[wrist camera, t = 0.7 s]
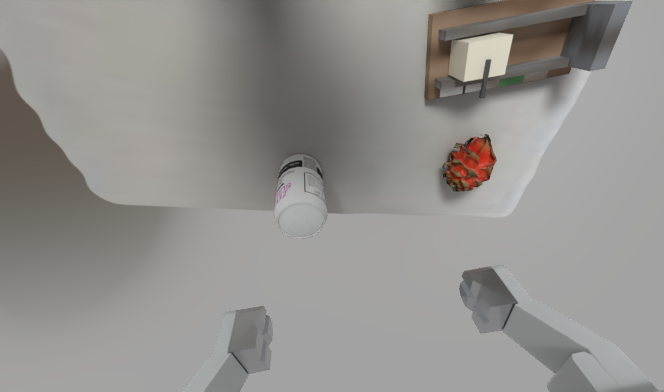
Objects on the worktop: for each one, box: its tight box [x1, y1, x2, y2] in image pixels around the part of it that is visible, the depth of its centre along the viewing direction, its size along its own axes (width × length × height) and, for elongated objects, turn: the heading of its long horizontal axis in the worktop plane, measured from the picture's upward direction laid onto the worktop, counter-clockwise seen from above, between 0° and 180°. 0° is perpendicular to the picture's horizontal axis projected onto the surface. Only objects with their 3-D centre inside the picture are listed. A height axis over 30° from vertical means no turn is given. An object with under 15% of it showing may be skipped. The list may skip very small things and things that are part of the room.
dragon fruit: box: [442, 133, 496, 192], centre depth 51 cm, size 8×8×12 cm
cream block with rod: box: [448, 32, 513, 98], centre depth 40 cm, size 8×6×6 cm
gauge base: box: [425, 0, 632, 100], centre depth 40 cm, size 12×24×8 cm, turn 99°
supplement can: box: [274, 154, 327, 239], centre depth 46 cm, size 8×8×15 cm
